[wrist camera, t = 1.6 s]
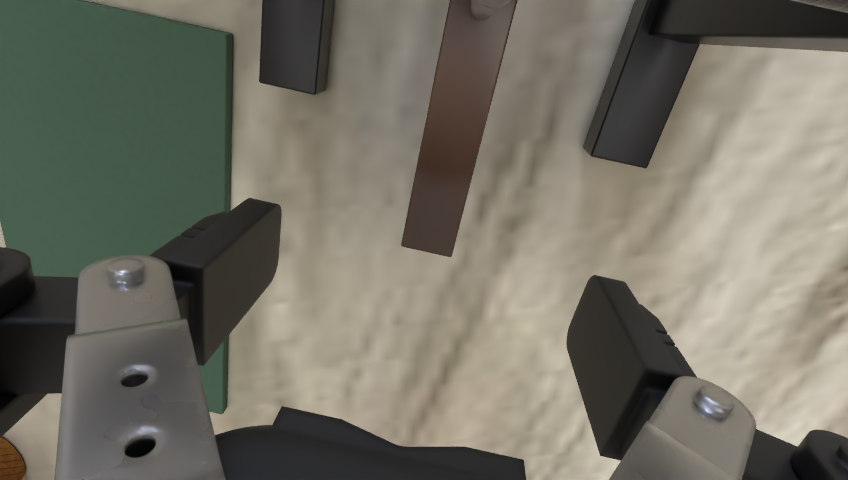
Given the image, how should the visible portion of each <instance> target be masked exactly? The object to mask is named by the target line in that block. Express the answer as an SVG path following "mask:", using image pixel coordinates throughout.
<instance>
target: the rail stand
mask: <svg viewBox="0 0 848 480" xmlns="http://www.w3.org/2000/svg"><path fill="white" fill-rule="evenodd" d="M334 2H335V0H263V3H262V27H261V52H260V76H259V82H260V83H264V84H268V85H273V86H277V87H282V88H286V89H291V90H295V91H300V92H304V93H309V94H313V95H315V94H318V93H320V92H323V91H325V90H326V80H327V70H328V60H329V51H330V41H331V31H332V21H333V11H334ZM699 44H710V45H729V46H747V47H766V48H784V49H803V50H822V51H840V52H848V0H635V3H634V6H633V9H632V11H631V14H630V17H629V20H628V23H627V25H626V28H625V31H624V34H623V37H622V39H621V42H620V45H619V48H618V51H617V53H616V56H615V59H614V62H613V65H612V67H611V70H610V73H609V76H608V79H607V82H606V84H605V87H604V90H603V93H602V96H601V98H600V101H599V104H598V107H597V110H596V112H595V115H594V118H593V121H592V124H591V126H590V129H589V132H588V135H587V138H586V140H585V143H584V146H583V148H584V149H585V150H586V151H587V152H588V153H589V154H590V155H591V156H592V157H597V158H601V159H606V160H610V161H615V162H619V163H624V164H628V165H633V166H637V167H642V168H647V166H648V164H649V162H650V159H651V157H652V154H653V152H654V150H655V147H656V145H657V143H658V140H659V138H660V136H661V133H662V131H663V129H664V126H665V124H666V122H667V119H668V117H669V115H670V112H671V110H672V108H673V105H674V103H675V101H676V98H677V96H678V94H679V91H680V89H681V87H682V84H683V82H684V80H685V77H686V75H687V73H688V70H689V68H690V65H691V63H692V61H693V58H694V56H695V54H696V51H697V49H698V47H699Z"/></svg>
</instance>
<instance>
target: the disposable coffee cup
mask: <svg viewBox="0 0 848 480" xmlns="http://www.w3.org/2000/svg"><path fill="white" fill-rule="evenodd" d="M24 474H25V465H24V462H23V460H22V458H21V456H20V454H19V453H18V452H17V450H16V449H15V448H14V447H13V446H12V445H11V444H10V443H8V442H7V441H6V440H5V439H3V438H2V437H0V480H22V478H23V476H24Z"/></svg>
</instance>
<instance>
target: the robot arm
mask: <svg viewBox="0 0 848 480" xmlns="http://www.w3.org/2000/svg"><path fill="white" fill-rule="evenodd" d="M280 229H281V207H280V205H279V204H275V203H270V202H266V201H261V200H257V199H252V198H248V199H246V200H245V201H244V202H242V203H241V204H240V205H238V206H237V207H235V208H234V209H233V210H231V211H230V212H221V213H217V214H214V215H211V216H207V217H204V218H203V219H201V220H200V221H199V222H197V223H196V224H194V225H193V226H192V228H188V229H187V230H185V231H184V232H182V233H181V236H177V237H175V238H174V239H172V240H171V241H169V242H168V243H166V244H165V245H164V246H162V247H161V248H159V249H158V250H156V251H155V252H153V253H152V254H150V255H149V256H145V255H120V256H113V257H109V258H105V259H101V260H99V261H96V262H94V263H92V264H90V265H88V266H87V267H85V268H84V269H83V270H82V271H81V273H80V274H79V277H50V276H34V275H33V270H32V265H31V260H30V257H29V256H28V255H27V254H25V253H24V252H22V251H19V250H15V249H11V248H2V247H0V437H1V436H3V435H4V434H5V433H6V432H7V431H8V430H9V429H10V428H11V427H12V426H13V425H14V424H15V423H17V422H18V421H19V420H20V419H21V418H22V417H23V416H24V415H25V414H26V413H27V412H28V411H29V410H31V409H32V408H33V407H34V406H35V405H36V404H37V403H38V402H39V401H40V400H41V399H42V398H43V397H44V396H45V395H46V394H48V393H62V398H61V410H60V422H59V434H58V445H57V457H56V469H55V480H526V475H525V467H524V460H522V459H517V458H513V457H508V456H504V455H499V454H495V453H490V452H486V451H481V450H477V449H472V448H468V447H403V446H398V445H396V444H393V443H391V442H389V441H387V440H385V439H382V438H380V437H378V436H376V435H374V434H372V433H370V432H367V431H365V430H363V429H361V428H359V427H357V426H354V425H352V424H350V423H348V422H346V421H344V420H342V419H337V418H333V417H328V416H324V415H319V414H315V413H310V412H306V411H301V410H297V409H292V408H288V407H283V406H282V407H281V409H280V411H279V413H278V415H277V417H276V419H275V421H274V423H273V425H261V426H251V427H245V428H240V429H235V430H231V431H228V432H224V433H221V434H218V435H214V431H213V427H212V422H211V418H210V414H209V410H208V406H207V402H206V397H205V393H204V389H203V385H202V381H201V376H200V372H199V368H198V365H201V366H204V365H205V364H206V362H207V361H208V360H209V359H210V358H211V356H212V355H213V354H214V353H215V351H216V350H217V349H218V348H219V346H220V345H221V344H222V343H223V341H224V340H225V339H226V338H227V336H228V335H229V334H230V333H231V331H232V330H233V329H234V328H235V326H236V325H237V324H238V323H239V321H240V320H241V319H242V318H243V317H244V315H245V314H246V313H247V312H248V310H249V309H250V308H251V307H252V305H253V304H254V303H255V302H256V300H257V299H258V298H259V297H260V295H261V294H262V293H263V292H264V290H265V289H266V288H267V287H268V285H269V284H270V283H271V281H272V280H273V277H274V275H275V272H276V269H277V265H278V258H279V243H280ZM567 350H568V353H569V356H570V360H571V363H572V366H573V369H574V373H575V376H576V379H577V382H578V385H579V389H580V392H581V395H582V398H583V402H584V405H585V408H586V411H587V414H588V418H589V421H590V424H591V427H592V431H593V434H594V437H595V440H596V443H597V447H598V450H599V453H600V456H604V457H608V458H613V459H617V460H621V462H620V463H619V465H618V467H617V468H616V470H615V471H614V473H613V474H612V476H611V478H610V479H609V480H848V438H845V437H843V436H841V435H838V434H836V433H832V432H829V431H824V430H812V431H810V432H809V433H808V434H807V436H806V437H805V438H804V439H803V441H802V442H801V443H800V445H799V446H798V447H797V446H794V445H792V444H790V443H787V442H785V441H783V440H780V439H778V438H776V437H773V436H771V435H769V434H766V433H764V432H762V431H759V430H757V429H756V422H755V419H754V417H753V415H752V414H751V412H750V411H749V410H748V409H747V407H746V406H745V405H744V404H743V403H742V402H741V401H739V400H738V399H737V398H736V397H735V396H733V395H732V394H730V393H729V392H727V391H726V390H724V389H723V388H721V387H719V386H717V385H715V384H713V383H711V382H708V381H706V380H703V379H700V378H697V377H696V375H695V374H694V372H693V371H692V369H691V368H690V366H689V365H688V363H687V361H686V360H685V358H684V357H683V355H682V354H681V352H680V351H679V349H678V348H677V347H675V343H674V342H673V340H672V339H671V337H670V336H669V335H667V331H666V330H665V328H664V327H663V325H662V324H661V322H660V321H659V319H658V318H657V317H655V316H654V315H653V314H652V313H651V312H650V311H648V310H647V309H646V308H645V307H644V306H643V305H640V304H639V303H638V301H637V300H636V298H635V297H634V295H633V294H632V292H631V290H630V289H629V287H628V286H627V284H626V283H625V282H623V281H619V280H614V279H610V278H605V277H601V276H596V275H593V276H592V277H591V278H590V279H589V280H588V282H587V284H586V287H585V289H584V292H583V294H582V296H581V299H580V301H579V304H578V306H577V309H576V311H575V313H574V316H573V318H572V321H571V323H570V326H569V329H568V334H567Z"/></svg>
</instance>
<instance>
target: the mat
mask: <svg viewBox="0 0 848 480" xmlns="http://www.w3.org/2000/svg"><path fill="white" fill-rule="evenodd" d="M232 47H233V35H232V34H231V33H227V32H223V31H218V30H214V29H209V28H205V27H200V26H196V25H191V24H187V23H182V22H178V21H173V20H169V19H164V18H160V17H155V16H151V15H146V14H142V13H137V12H133V11H128V10H124V9H119V8H115V7H110V6H106V5H101V4H97V3H92V2H88V1H83V0H0V222H1V226H2V231H3V235H4V240H5V244H6V248H11V249H15V250H19V251H22V252H24V253H25V254H27V255H28V256H29V257H30V260H31V265H32V270H33V275H34V276H50V277H79V274H80V273H81V271H82V270H83V269H84V268H85V267H87V266H88V265H90V264H92V263H94V262H96V261H99V260H101V259H105V258H109V257H113V256H120V255H145V256H149V255H150V254H152V253H153V252H155V251H156V250H158V249H159V248H161V247H162V246H164V245H165V244H166V243H168V242H169V241H171V240H172V239H174V238H175V237H177V236H181V233H182V232H184V231H185V230H187V229H188V228H192V226H193V225H194V224H196V223H197V222H199V221H200V220H201V219H203V218H204V217H207V216H211V215H214V214H217V213H221V212H230V172H231V110H232ZM227 360H228V336H227V338H226V339H225V340H224V341H223V343H222V344H221V345H220V346H219V348H218V349H217V350H216V351H215V353H214V354H213V355H212V356H211V358H210V359H209V360H208V361H207V362H206V364H205V365H204V366H201V365H198V368H199V372H200V376H201V381H202V385H203V389H204V393H205V397H206V402H207V406H208V410H209V411H210V412H214V413H219V414H223V413H224V411H225V410H226V408H227Z"/></svg>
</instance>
